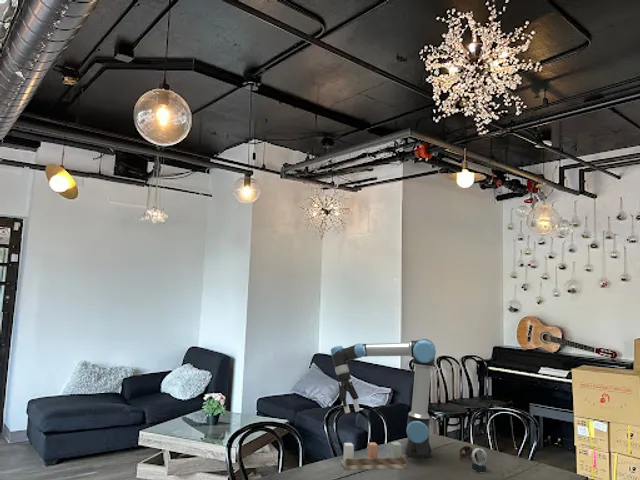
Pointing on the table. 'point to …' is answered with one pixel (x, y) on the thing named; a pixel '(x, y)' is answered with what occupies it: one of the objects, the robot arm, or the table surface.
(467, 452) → the pottery mug
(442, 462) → the table surface
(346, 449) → the off-white key
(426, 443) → the robot arm
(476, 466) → the small desk fan
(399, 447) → the pale green upright block
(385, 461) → the birch key console
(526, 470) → the table surface
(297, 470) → the table surface
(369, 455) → the terracotta key
